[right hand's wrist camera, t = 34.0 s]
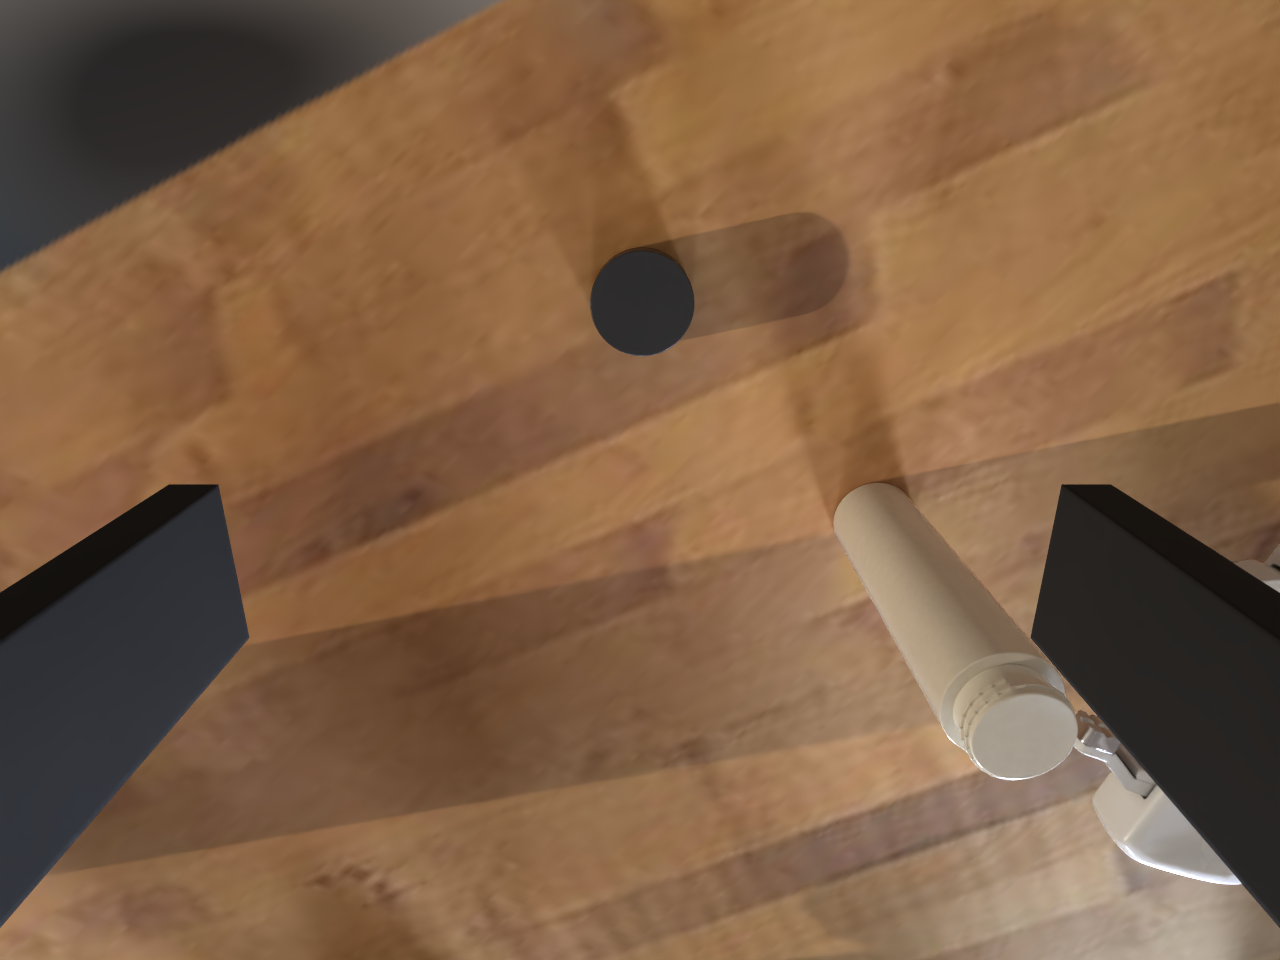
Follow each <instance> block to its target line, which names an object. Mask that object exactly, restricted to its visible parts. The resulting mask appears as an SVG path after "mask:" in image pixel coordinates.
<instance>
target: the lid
mask: <svg viewBox="0 0 1280 960" xmlns="http://www.w3.org/2000/svg"><path fill="white" fill-rule="evenodd" d="M590 308H591V315H592V318H593V322H594V324H595V326H596V328H597V330H598V332H599V333H600V335H601V336H602V337H603V338H604V339H605V340H606V341H607V342H608V343H609V344H610V345H611V346H613V347H614V348H616V349H617V350H619V351H621V352H624V353H627V354H630V355H636V356H649V355H654V354H658V353H661V352H663V351H665V350H667V349H669V348H670V347H672V346H673V345H675V344H676V343H677V342H678V341H679V340H680V339H681V338H682V336H683V335H684V334H685V332H686V331H687V329H688V327H689V325H690V323H691V320H692V316H693V311H694V295H693V290H692V287H691V284H690V281H689V279H688V277H687V275H686V274H685V272H684V270H683V269H682V267H681V266H680V265H679V264H678V263H677V262H676V261H675V260H674V259H673V258H672V257H670V256H669V255H667V254H666V253H664V252H661V251H659V250H656V249H652V248H632V249H629V250H625V251H623V252H621V253H619V254H617V255H615V256H614V257H613V258H611V259H610V260H609V261H608V262H607V263H606V264H605V265H604V266H603V268H602V269H601V271H600V272H599V274H598V276H597V278H596V280H595V283H594V285H593V288H592V292H591V299H590Z"/></svg>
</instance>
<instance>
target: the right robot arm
mask: <svg viewBox="0 0 1280 960" xmlns="http://www.w3.org/2000/svg"><path fill="white" fill-rule="evenodd" d="M248 639H249V634H248V629H247V624H246V619H245V614H244V609H243V604H242V599H241V594H240V589H239V584H238V579H237V574H236V569H235V564H234V560H233V555H232V550H231V545H230V540H229V535H228V530H227V525H226V520H225V515H224V510H223V505H222V500H221V495H220V490H219V486H218V485H168V486H166V487H165V488H163V489H161V490H160V491H158V492H157V493H155V494H154V495H152V496H150V497H149V498H147V499H146V500H144V501H143V502H141V503H140V504H138V505H136V506H135V507H133V508H132V509H130V510H129V511H127V512H125V513H124V514H122V515H121V516H119V517H118V518H116V519H115V520H113V521H111V522H110V523H108V524H107V525H105V526H104V527H102V528H100V529H99V530H97V531H96V532H94V533H93V534H91V535H90V536H88V537H86V538H85V539H83V540H82V541H80V542H79V543H77V544H75V545H74V546H72V547H71V548H69V549H68V550H66V551H65V552H63V553H61V554H60V555H58V556H57V557H55V558H54V559H52V560H51V561H49V562H47V563H46V564H44V565H43V566H41V567H40V568H38V569H36V570H35V571H33V572H32V573H30V574H29V575H27V576H26V577H24V578H22V579H21V580H19V581H18V582H16V583H15V584H13V585H11V586H10V587H8V588H7V589H5V590H4V591H2V592H1V593H0V927H1V926H2V925H3V924H4V923H5V922H6V921H7V919H8V918H9V917H10V916H11V915H12V914H13V912H14V911H15V910H16V909H17V908H18V907H19V905H20V904H21V903H22V902H23V901H24V900H25V898H26V897H27V896H28V895H29V894H30V893H31V891H32V890H33V889H34V888H35V887H36V886H37V884H38V883H39V882H40V881H41V880H42V879H43V877H44V876H45V875H46V874H47V873H48V872H49V870H50V869H51V868H52V867H53V866H54V865H55V863H56V862H57V861H58V860H59V859H60V858H61V856H62V855H63V854H64V853H65V852H66V851H67V849H68V848H69V847H70V846H71V845H72V844H73V843H74V841H75V840H76V839H77V838H78V837H79V836H80V834H81V833H82V832H83V831H84V830H85V829H86V827H87V826H88V825H89V824H90V823H91V822H92V820H93V819H94V818H95V817H96V816H97V815H98V813H99V812H100V811H101V810H102V809H103V808H104V806H105V805H106V804H107V803H108V802H109V801H110V799H111V798H112V797H113V796H114V795H115V794H116V792H117V791H118V790H119V789H120V788H121V787H122V785H123V784H124V783H125V782H126V781H127V780H128V778H129V777H130V776H131V775H132V774H133V773H134V771H135V770H136V769H137V768H138V767H139V766H140V765H141V763H142V762H143V761H144V760H145V759H146V758H147V756H148V755H149V754H150V753H151V752H152V751H153V749H154V748H155V747H156V746H157V745H158V744H159V742H160V741H161V740H162V739H163V738H164V737H165V735H166V734H167V733H168V732H169V731H170V730H171V728H172V727H173V726H174V725H175V724H176V723H177V721H178V720H179V719H180V718H181V717H182V716H183V714H184V713H185V712H186V711H187V710H188V709H189V707H190V706H191V705H192V704H193V703H194V702H195V700H196V699H197V698H198V697H199V696H200V695H201V693H202V692H203V691H204V690H205V689H206V688H207V686H208V685H209V684H210V683H211V682H212V681H213V680H214V678H215V677H216V676H217V675H218V674H219V673H220V671H221V670H222V669H223V668H224V667H225V666H226V664H227V663H228V662H229V661H230V660H231V659H232V657H233V656H234V655H235V654H236V653H237V652H238V650H239V649H240V648H241V647H242V646H243V645H244V643H245V642H246V641H247V640H248ZM1031 639H1032V640H1033V641H1034V642H1035V643H1036V645H1037V646H1038V647H1039V648H1040V649H1041V650H1042V652H1043V653H1044V654H1045V655H1046V656H1047V657H1048V659H1049V660H1050V661H1051V662H1052V663H1053V664H1054V666H1055V667H1056V668H1057V669H1058V670H1059V671H1060V673H1061V674H1062V675H1063V676H1064V677H1065V678H1066V680H1067V681H1068V682H1069V683H1070V684H1071V685H1072V687H1073V688H1074V689H1075V690H1076V691H1077V692H1078V693H1079V695H1080V696H1081V697H1082V698H1083V699H1084V700H1085V702H1086V703H1087V704H1088V705H1089V706H1090V707H1091V709H1092V710H1093V711H1094V712H1095V713H1096V714H1097V716H1098V717H1099V718H1100V719H1101V720H1102V721H1103V723H1104V724H1105V725H1106V726H1107V727H1108V728H1109V730H1110V731H1111V732H1112V733H1113V734H1114V735H1115V737H1116V738H1117V739H1118V740H1119V741H1120V742H1121V744H1122V745H1123V746H1124V747H1125V748H1126V749H1127V751H1128V752H1129V753H1130V754H1131V755H1132V756H1133V758H1134V759H1135V760H1136V761H1137V762H1138V763H1139V765H1140V766H1141V767H1142V768H1143V769H1144V770H1145V771H1146V773H1147V774H1148V775H1149V776H1150V777H1151V778H1152V780H1153V781H1154V782H1155V783H1156V784H1157V785H1158V787H1159V788H1160V789H1161V790H1162V791H1163V792H1164V794H1165V795H1166V796H1167V797H1168V798H1169V799H1170V801H1171V802H1172V803H1173V804H1174V805H1175V806H1176V808H1177V809H1178V810H1179V811H1180V812H1181V813H1182V815H1183V816H1184V817H1185V818H1186V819H1187V820H1188V822H1189V823H1190V824H1191V825H1192V826H1193V827H1194V829H1195V830H1196V831H1197V832H1198V833H1199V834H1200V836H1201V837H1202V838H1203V839H1204V840H1205V841H1206V843H1207V844H1208V845H1209V846H1210V847H1211V848H1212V849H1213V851H1214V852H1215V853H1216V854H1217V855H1218V856H1219V858H1220V859H1221V860H1222V861H1223V862H1224V863H1225V865H1226V866H1227V867H1228V868H1229V869H1230V870H1231V872H1232V873H1233V874H1234V875H1235V876H1236V877H1237V879H1238V880H1239V881H1240V882H1241V883H1242V884H1243V886H1244V887H1245V888H1246V889H1247V890H1248V891H1249V893H1250V894H1251V895H1252V896H1253V897H1254V898H1255V900H1256V901H1257V902H1258V903H1259V904H1260V905H1261V907H1262V908H1263V909H1264V910H1265V911H1266V912H1267V914H1268V915H1269V916H1270V917H1271V918H1272V919H1273V921H1274V922H1275V923H1276V924H1277V925H1278V926H1279V927H1280V593H1279V592H1278V591H1276V590H1275V589H1273V588H1272V587H1270V586H1269V585H1267V584H1265V583H1264V582H1262V581H1261V580H1259V579H1258V578H1256V577H1254V576H1253V575H1251V574H1250V573H1248V572H1247V571H1245V570H1244V569H1242V568H1240V567H1239V566H1237V565H1236V564H1234V563H1233V562H1231V561H1229V560H1228V559H1226V558H1225V557H1223V556H1222V555H1220V554H1219V553H1217V552H1215V551H1214V550H1212V549H1211V548H1209V547H1208V546H1206V545H1205V544H1203V543H1201V542H1200V541H1198V540H1197V539H1195V538H1194V537H1192V536H1190V535H1189V534H1187V533H1186V532H1184V531H1183V530H1181V529H1180V528H1178V527H1176V526H1175V525H1173V524H1172V523H1170V522H1169V521H1167V520H1165V519H1164V518H1162V517H1161V516H1159V515H1158V514H1156V513H1155V512H1153V511H1151V510H1150V509H1148V508H1147V507H1145V506H1144V505H1142V504H1140V503H1139V502H1137V501H1136V500H1134V499H1133V498H1131V497H1130V496H1128V495H1126V494H1125V493H1123V492H1122V491H1120V490H1119V489H1117V488H1115V487H1114V486H1112V485H1062V486H1061V490H1060V495H1059V500H1058V505H1057V510H1056V515H1055V520H1054V525H1053V530H1052V535H1051V540H1050V545H1049V550H1048V555H1047V560H1046V564H1045V569H1044V574H1043V579H1042V584H1041V589H1040V594H1039V599H1038V604H1037V609H1036V614H1035V619H1034V624H1033V629H1032V634H1031Z"/></svg>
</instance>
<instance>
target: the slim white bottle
mask: <svg viewBox="0 0 1280 960" xmlns="http://www.w3.org/2000/svg"><path fill="white" fill-rule="evenodd" d="M834 531H835V535H836V537H837V539H838V541H839V543H840V544H841V546H842V548H843V550H844V552H845V553H846V555H847V557H848V559H849V561H850V562H851V564H852V566H853V568H854V570H855V571H856V573H857V575H858V577H859V579H860V580H861V582H862V584H863V586H864V588H865V589H866V591H867V593H868V595H869V597H870V598H871V600H872V602H873V604H874V606H875V607H876V609H877V611H878V613H879V615H880V616H881V618H882V620H883V622H884V624H885V625H886V627H887V629H888V631H889V633H890V634H891V636H892V638H893V640H894V642H895V643H896V645H897V647H898V649H899V651H900V652H901V654H902V656H903V658H904V660H905V661H906V663H907V665H908V667H909V669H910V670H911V672H912V674H913V676H914V678H915V679H916V681H917V683H918V685H919V687H920V689H921V690H922V692H923V694H924V696H925V698H926V699H927V701H928V703H929V705H930V707H931V708H932V710H933V712H934V714H935V716H936V717H937V719H938V721H939V723H940V725H941V726H942V728H943V730H944V732H945V734H946V735H947V736H948V737H949V739H950V740H951V741H952V742H953V743H955V744H956V745H957V746H959V747H960V748H962V749H964V750H966V752H967V753H968V755H969V757H970V759H971V760H972V762H973V763H974V764H975V765H976V766H977V767H978V768H979V769H980V770H982V771H984V772H985V773H987V774H989V775H990V776H993V777H997V778H1001V779H1003V780H1018V779H1027V778H1032V777H1035V776H1038V775H1041V774H1043V773H1046V772H1048V771H1049V770H1051V769H1053V768H1054V767H1056V766H1057V765H1059V764H1060V763H1061V762H1062V761H1063V760H1064V759H1065V758H1066V757H1067V756H1068V754H1069V753H1070V752H1071V750H1072V748H1073V747H1074V744H1075V742H1076V739H1077V735H1078V724H1077V719H1076V716H1075V712H1074V710H1073V707H1072V704H1071V703H1070V701H1069V700H1068V699H1067V698H1066V697H1065V687H1064V683H1063V680H1062V678H1061V676H1060V675H1059V673H1058V672H1057V670H1056V669H1055V668H1054V667H1053V665H1052V664H1051V663H1050V662H1049V661H1048V660H1047V658H1046V657H1045V656H1044V655H1043V654H1042V653H1041V651H1040V650H1039V649H1038V648H1037V647H1036V646H1035V644H1034V643H1033V642H1032V641H1031V640H1030V639H1029V637H1028V636H1027V635H1026V634H1025V633H1024V632H1023V630H1022V629H1021V628H1020V627H1019V626H1018V625H1017V623H1016V622H1015V621H1014V620H1013V619H1012V618H1011V616H1010V615H1009V614H1008V613H1007V612H1006V610H1005V609H1004V608H1003V607H1002V606H1001V605H1000V603H999V602H998V601H997V600H996V599H995V598H994V596H993V595H992V594H991V593H990V592H989V591H988V589H987V588H986V587H985V586H984V585H983V584H982V582H981V581H980V580H979V579H978V578H977V577H976V575H975V574H974V573H973V572H972V571H971V570H970V568H969V567H968V566H967V565H966V564H965V563H964V561H963V560H962V559H961V558H960V557H959V556H958V554H957V553H956V552H955V551H954V550H953V549H952V547H951V546H950V545H949V544H948V543H947V541H946V540H945V539H944V538H943V537H942V536H941V534H940V533H939V532H938V531H937V530H936V529H935V527H934V526H933V525H932V524H931V523H930V522H929V520H928V519H927V518H926V517H925V516H924V515H923V513H922V512H921V511H920V510H919V509H918V508H917V506H916V505H915V504H914V503H913V502H912V501H911V499H910V498H909V497H908V496H907V495H906V494H905V493H904V492H903V491H902V490H901V489H899V488H897V487H895V486H893V485H890V484H886V483H870V484H866V485H863V486H860V487H858V488H856V489H854V490H853V491H851V492H850V493H849V494H847V495H846V496H845V497H844V498H843V500H842V501H841V502H840V504H839V505H838V507H837V509H836V512H835V516H834Z"/></svg>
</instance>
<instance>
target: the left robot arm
mask: <svg viewBox="0 0 1280 960" xmlns="http://www.w3.org/2000/svg"><path fill="white" fill-rule="evenodd" d="M1233 563H1234V564H1236V565H1237V566H1239V567H1240V568H1242V569H1244V570H1245V571H1247V572H1248V573H1250V574H1251V575H1253V576H1254V577H1256V578H1258V579H1259V580H1261V581H1262V582H1264V583H1265V584H1267V585H1269V586H1270V587H1272V588H1273V589H1275V590H1276V591H1278V592H1279V593H1280V543H1279V544H1278V545H1277V547H1276V548H1275V549H1274V551H1273V552H1272V554H1271V555H1270V556H1269V558H1268V559H1267V560H1266V562H1265V563H1262V562H1259V561H1256V560H1254V559H1248V560H1243V561H1237V562H1233ZM1075 716H1076V719H1077V724H1078V735H1077V739H1076V742H1075V744H1074V748H1075V749H1077V750H1078V751H1079V752H1081V753H1083V754H1085V755H1088V756H1091V757H1094V758H1096V759H1099V760H1102V761H1103V762H1104V763H1105V764H1106V765H1107V767H1108V768H1109V769H1110V771H1111V772H1110V773H1109V775H1108V776H1107V777H1106V779H1105V780H1104V781H1103V783H1102V784H1101V785H1100V787H1099V788H1098V789H1097V791H1096V792H1095V793H1094V795H1093V797H1092V804H1093V807H1094V809H1095V811H1096V813H1097V815H1098V818H1099V819H1100V821H1101V823H1102V825H1103V826H1104V828H1105V829H1106V831H1107V832H1108V834H1109V835H1110V836H1111V837H1112V839H1113V840H1114V841H1115V843H1116V844H1117V845H1118V846H1119V847H1120V848H1121V849H1122V850H1123V851H1124V852H1125V853H1126V854H1127V855H1128V856H1129V857H1131V858H1132V859H1134V860H1136V861H1138V862H1140V863H1143V864H1146V865H1148V866H1151V867H1155V868H1158V869H1161V870H1164V871H1168V872H1171V873H1175V874H1178V875H1182V876H1186V877H1190V878H1194V879H1198V880H1203V881H1208V882H1213V883H1219V884H1229V885H1234V884H1242V883H1241V882H1240V881H1239V880H1238V879H1237V877H1236V876H1235V875H1234V874H1233V873H1232V872H1231V870H1230V869H1229V868H1228V867H1227V866H1226V865H1225V863H1224V862H1223V861H1222V860H1221V859H1220V858H1219V856H1218V855H1217V854H1216V853H1215V852H1214V851H1213V849H1212V848H1211V847H1210V846H1209V845H1208V844H1207V843H1206V841H1205V840H1204V839H1203V838H1202V837H1201V836H1200V834H1199V833H1198V832H1197V831H1196V830H1195V829H1194V827H1193V826H1192V825H1191V824H1190V823H1189V822H1188V820H1187V819H1186V818H1185V817H1184V816H1183V815H1182V813H1181V812H1180V811H1179V810H1178V809H1177V808H1176V806H1175V805H1174V804H1173V803H1172V802H1171V801H1170V799H1169V798H1168V797H1167V796H1166V795H1165V794H1164V792H1163V791H1162V790H1161V789H1160V788H1159V787H1158V785H1157V784H1156V783H1155V782H1154V781H1153V780H1152V778H1151V777H1150V776H1149V775H1148V774H1147V773H1146V771H1145V770H1144V769H1143V768H1142V767H1141V766H1140V765H1139V763H1138V762H1137V761H1136V760H1135V759H1134V758H1133V756H1132V755H1131V754H1130V753H1129V752H1128V751H1127V749H1126V748H1125V747H1124V746H1123V745H1122V744H1121V742H1120V741H1119V740H1118V739H1117V738H1116V737H1115V735H1114V734H1113V733H1112V732H1111V731H1110V730H1109V728H1108V727H1107V726H1106V725H1105V724H1104V723H1103V721H1102V720H1101V719H1100V718H1099V717H1098V716H1095V715H1088V714H1087V713H1086V712H1084V711H1078V712H1077V714H1076V715H1075Z"/></svg>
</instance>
